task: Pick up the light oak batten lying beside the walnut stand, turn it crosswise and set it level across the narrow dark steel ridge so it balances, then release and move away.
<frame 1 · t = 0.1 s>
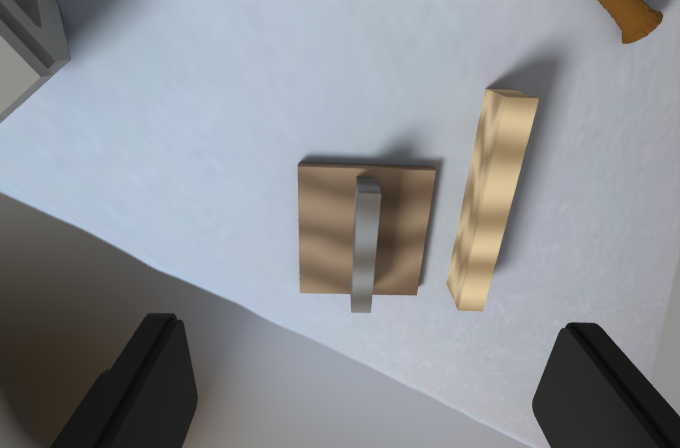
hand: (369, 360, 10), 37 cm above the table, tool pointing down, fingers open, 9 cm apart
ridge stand: (361, 231, 50), on the table
oak batten: (475, 197, 48), on the table
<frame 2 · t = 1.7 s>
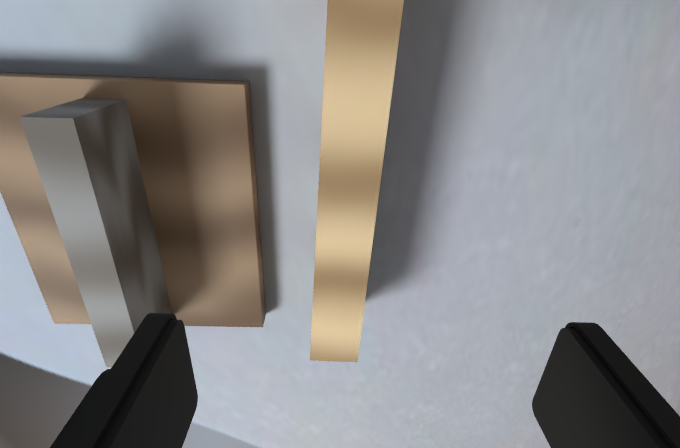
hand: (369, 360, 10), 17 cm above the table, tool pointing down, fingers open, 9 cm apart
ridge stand: (144, 212, 27), on the table
oak batten: (346, 148, 25), on the table
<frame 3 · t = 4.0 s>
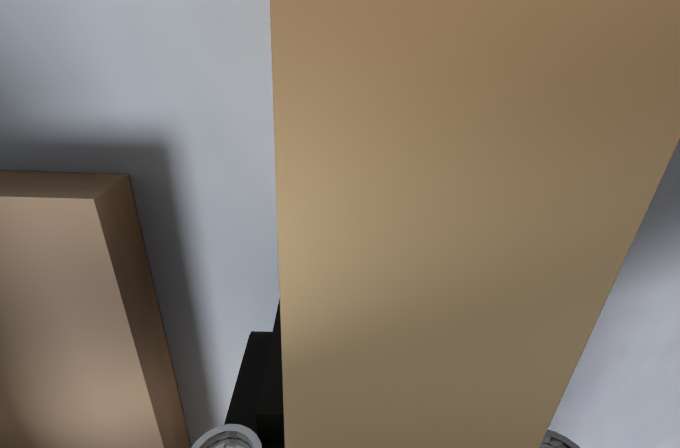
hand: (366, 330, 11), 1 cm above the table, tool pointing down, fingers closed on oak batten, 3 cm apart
oak batten: (364, 309, 11), on the table, touching gripper
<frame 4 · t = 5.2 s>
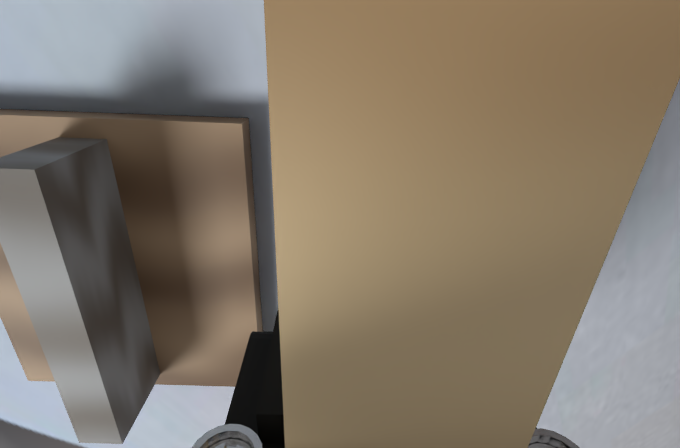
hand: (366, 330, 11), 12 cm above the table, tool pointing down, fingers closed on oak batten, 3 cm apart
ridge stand: (129, 260, 24), on the table
oak batten: (364, 306, 12), point 11 cm above the table, touching gripper
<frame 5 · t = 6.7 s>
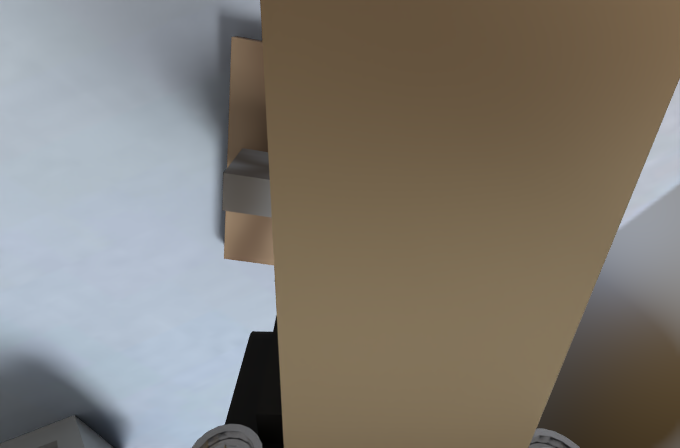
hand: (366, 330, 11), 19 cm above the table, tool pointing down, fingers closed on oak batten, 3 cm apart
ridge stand: (353, 174, 29), on the table
oak batten: (364, 306, 12), point 18 cm above the table, touching gripper
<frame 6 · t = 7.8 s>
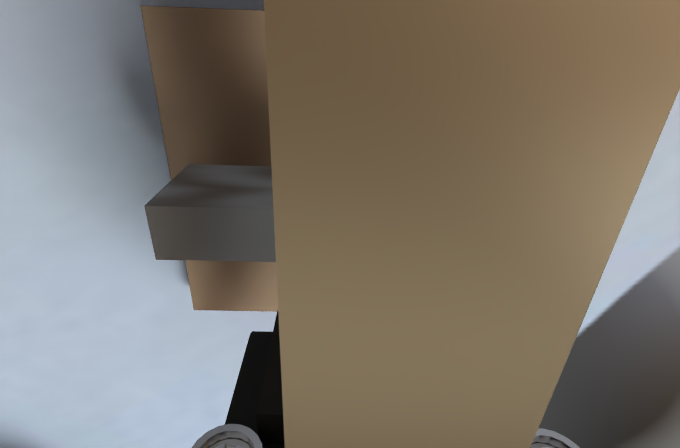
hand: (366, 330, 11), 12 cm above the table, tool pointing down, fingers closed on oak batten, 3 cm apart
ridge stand: (347, 180, 21), on the table
oak batten: (364, 307, 12), point 11 cm above the table, touching gripper
when the fingers open (8 cm above the table, at t = 8.8 s): oak batten stays where it is, resting on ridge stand.
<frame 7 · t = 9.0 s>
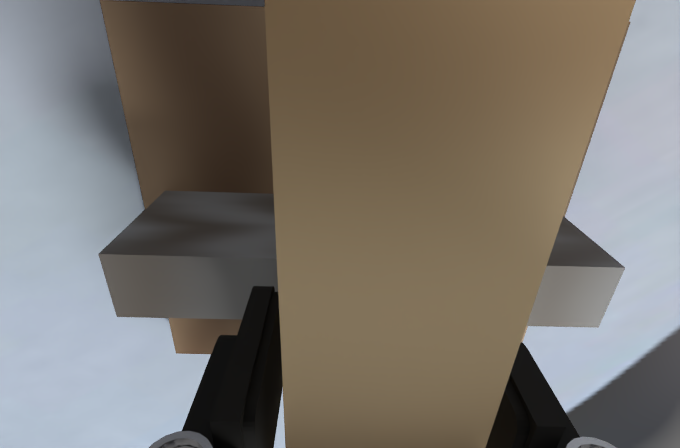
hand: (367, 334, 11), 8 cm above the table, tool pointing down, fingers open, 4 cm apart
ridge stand: (354, 207, 18), on the table
oak batten: (359, 293, 12), point 7 cm above the table, touching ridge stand
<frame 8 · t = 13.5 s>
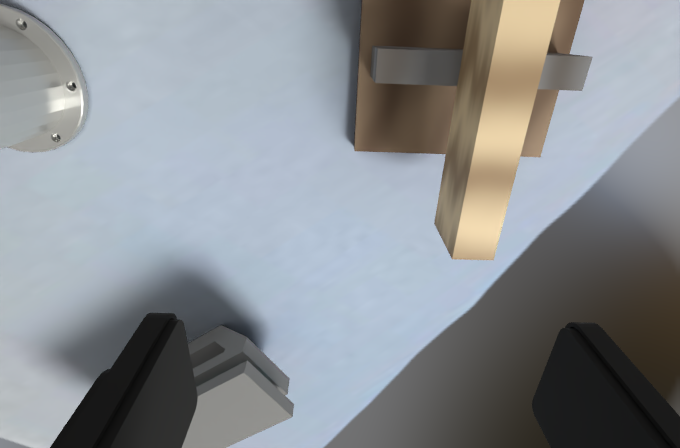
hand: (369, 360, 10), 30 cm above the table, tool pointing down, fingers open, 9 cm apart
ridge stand: (458, 63, 35), on the table
oak batten: (481, 70, 29), point 6 cm above the table, touching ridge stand
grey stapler: (208, 360, 52), on the table
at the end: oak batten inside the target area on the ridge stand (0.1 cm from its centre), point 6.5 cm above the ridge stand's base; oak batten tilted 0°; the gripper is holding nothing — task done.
